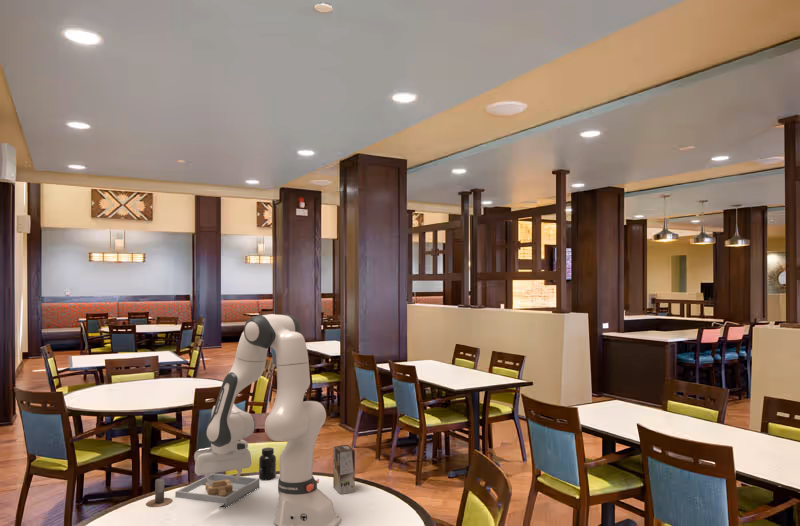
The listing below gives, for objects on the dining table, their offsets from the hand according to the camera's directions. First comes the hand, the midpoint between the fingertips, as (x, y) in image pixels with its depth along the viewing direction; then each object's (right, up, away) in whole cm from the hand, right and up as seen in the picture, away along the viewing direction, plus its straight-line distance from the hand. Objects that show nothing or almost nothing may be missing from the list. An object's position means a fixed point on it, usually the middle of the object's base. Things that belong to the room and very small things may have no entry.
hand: (223, 483), depth 206 cm
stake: (-21, -6, -7) cm, 23 cm away
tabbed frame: (-3, -6, +4) cm, 7 cm away
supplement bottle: (+11, -8, +24) cm, 27 cm away
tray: (-4, -6, +6) cm, 9 cm away
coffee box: (+44, -7, +10) cm, 46 cm away
